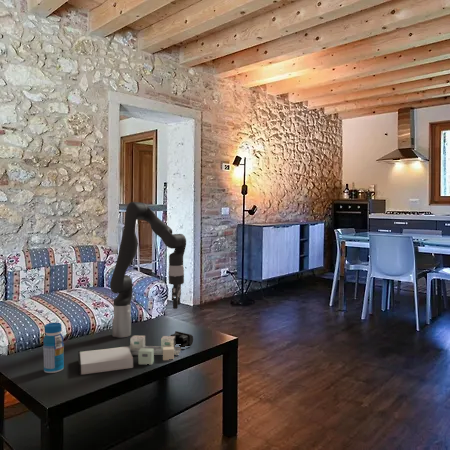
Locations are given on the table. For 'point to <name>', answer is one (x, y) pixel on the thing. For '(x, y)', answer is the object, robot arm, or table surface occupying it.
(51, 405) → the table surface
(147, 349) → the module
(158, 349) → the rail
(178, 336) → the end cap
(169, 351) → the block
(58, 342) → the beverage bottle
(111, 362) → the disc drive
